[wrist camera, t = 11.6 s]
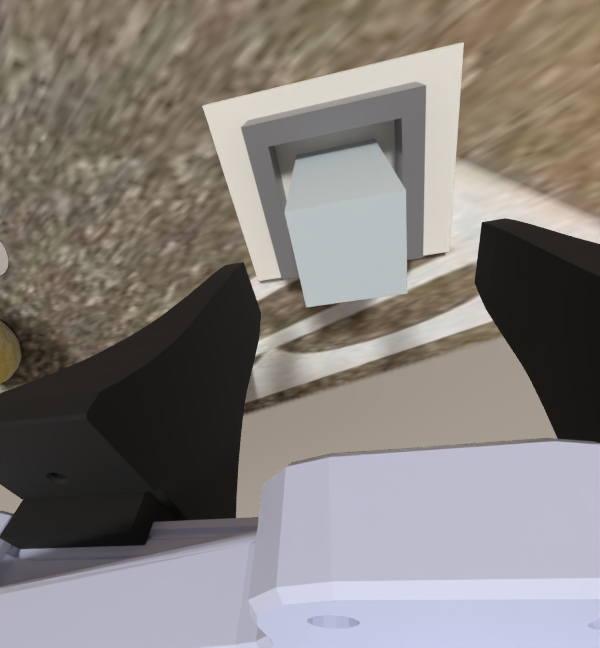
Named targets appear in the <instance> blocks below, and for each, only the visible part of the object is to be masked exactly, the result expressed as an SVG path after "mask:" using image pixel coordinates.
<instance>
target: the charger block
mask: <svg viewBox="0 0 600 648" xmlns="http://www.w3.org/2000/svg"><path fill="white" fill-rule="evenodd" d="M284 213H285V217H286V222H287V226H288V230H289V234H290V239H291V243H292V247H293V252H294V256H295V260H296V265H297V269H298V273H299V278H300V282H301V286H302V290H303V295H304V299H305V303H306V307H312V306H320V305H327V304H334V303H341V302H349V301H356V300H363V299H370V298H377V297H385V296H392V295H399V294H406V293H407V229H406V189H405V188H404V186H403V184H402V183H401V181H400V179H399V178H398V176H397V175H396V173H395V171H394V170H393V168H392V166H391V165H390V163H389V161H388V160H387V158H386V157H385V155H384V153H383V152H382V150H381V148H380V147H379V145H378V143H377V142H376V140H375V139H371V140H367V141H362V142H357V143H352V144H347V145H343V146H338V147H333V148H328V149H324V150H319V151H314V152H309V153H304V154H300V155H296V160H295V164H294V169H293V174H292V179H291V183H290V188H289V193H288V198H287V202H286V207H285V212H284Z"/></svg>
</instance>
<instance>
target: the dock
mask: <svg viewBox="0 0 600 648" xmlns="http://www.w3.org/2000/svg"><path fill="white" fill-rule="evenodd" d="M463 45H464V43H457V44H453V45H449V46H444V47H440V48H436V49H432V50H428V51H424V52H420V53H416V54H412V55H407V56H403V57H399V58H395V59H391V60H387V61H383V62H379V63H375V64H370V65H366V66H362V67H358V68H354V69H350V70H346V71H342V72H338V73H333V74H329V75H325V76H321V77H317V78H313V79H309V80H305V81H301V82H296V83H292V84H288V85H284V86H280V87H276V88H272V89H268V90H264V91H259V92H255V93H251V94H247V95H243V96H239V97H235V98H231V99H227V100H222V101H218V102H214V103H210V104H206V105H204V106H203V109H204V112H205V115H206V119H207V122H208V125H209V128H210V131H211V134H212V137H213V140H214V144H215V147H216V150H217V153H218V156H219V159H220V162H221V166H222V169H223V172H224V175H225V178H226V181H227V184H228V187H229V191H230V194H231V197H232V200H233V203H234V206H235V209H236V212H237V216H238V219H239V222H240V225H241V228H242V231H243V234H244V238H245V241H246V244H247V247H248V250H249V253H250V256H251V259H252V263H253V266H254V269H255V272H256V275H257V278H258V281H262V280H269V279H275V278H282V279H288V278H295V277H299V273H298V269H297V265H296V260H295V256H294V252H293V247H292V243H291V239H290V234H289V230H288V226H287V222H286V217H285V213H284V212H285V207H286V202H287V198H288V193H289V188H290V183H291V179H292V174H293V169H294V164H295V160H296V155H300V154H304V153H309V152H314V151H319V150H324V149H328V148H333V147H338V146H343V145H347V144H352V143H357V142H362V141H367V140H371V139H375V140H376V142H377V143H378V145H379V147H380V148H381V150H382V152H383V153H384V155H385V157H386V158H387V160H388V161H389V163H390V165H391V166H392V168H393V170H394V171H395V173H396V175H397V176H398V178H399V179H400V181H401V183H402V184H403V186H404V188H405V189H406V229H407V260H412V259H419V258H423V256H424V255H431V254H437V253H443V252H449V250H450V236H451V221H452V206H453V192H454V177H455V162H456V148H457V133H458V118H459V104H460V89H461V74H462V60H463Z"/></svg>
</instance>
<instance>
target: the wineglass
mask: <svg viewBox="0 0 600 648" xmlns="http://www.w3.org/2000/svg"><path fill="white" fill-rule="evenodd" d="M8 260H9V258H8V255H7V253H6V250H5V247H4V246H3V244H2V243H1V242H0V275H2V274H4V273H5V271H6V270H7V268H8Z"/></svg>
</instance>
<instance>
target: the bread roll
mask: <svg viewBox="0 0 600 648" xmlns="http://www.w3.org/2000/svg"><path fill="white" fill-rule="evenodd" d="M20 361H21V349H20V345H19V341H18V339H17V337H16V336H15V334H14V333H13V332H12V330H11V329H10V328H9V327H8V326H6V325H5V324H4V323H3V322H2V321H0V384H1V383H3V382H5V381H6V380H8V379H9V378H10V377H11V376H12V375H13V373H14V372H15V371H16V370H17V369H18V367H19V364H20Z"/></svg>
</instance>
